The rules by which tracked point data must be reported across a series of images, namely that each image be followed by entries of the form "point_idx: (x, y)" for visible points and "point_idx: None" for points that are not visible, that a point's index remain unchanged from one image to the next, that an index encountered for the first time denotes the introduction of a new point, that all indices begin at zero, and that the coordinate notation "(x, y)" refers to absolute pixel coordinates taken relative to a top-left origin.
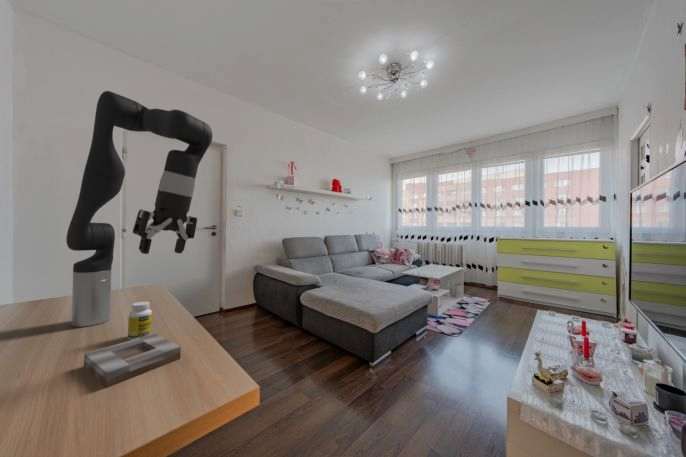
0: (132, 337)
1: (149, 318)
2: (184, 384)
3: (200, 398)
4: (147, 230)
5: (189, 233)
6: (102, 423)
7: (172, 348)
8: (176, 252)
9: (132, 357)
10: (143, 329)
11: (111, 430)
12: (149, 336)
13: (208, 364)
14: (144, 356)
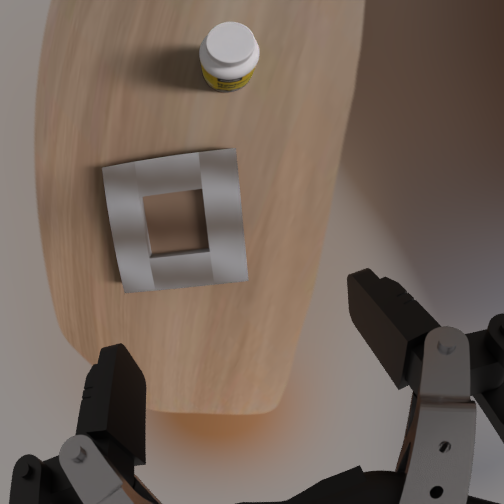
0: (207, 83)
1: (246, 76)
2: (218, 356)
3: (220, 394)
4: (100, 497)
5: (500, 376)
6: None
7: (232, 278)
8: (348, 294)
9: (164, 261)
10: (228, 88)
11: None
12: (220, 162)
13: (270, 328)
14: (181, 275)
